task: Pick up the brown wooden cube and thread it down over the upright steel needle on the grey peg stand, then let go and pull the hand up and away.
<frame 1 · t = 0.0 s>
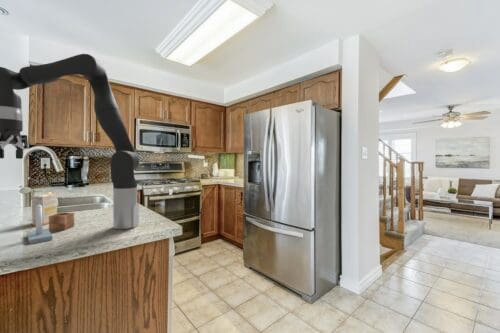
hand: (10, 158, 94), 29 cm above the counter, tool pointing down, fingers open, 8 cm apart
grey peg stand: (39, 238, 85), on the counter
brown wooden cube: (62, 228, 96), on the counter
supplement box: (44, 223, 104), on the counter
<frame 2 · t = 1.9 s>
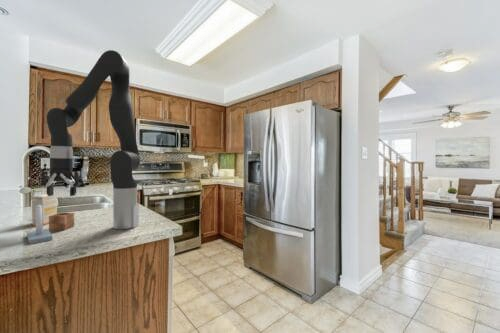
hand: (61, 195, 96), 14 cm above the counter, tool pointing down, fingers open, 8 cm apart
nothing on the counter moved.
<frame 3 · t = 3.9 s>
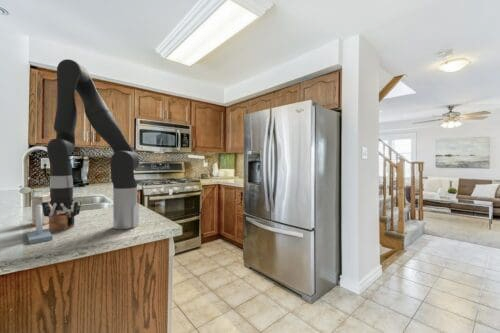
hand: (62, 225, 96), 1 cm above the counter, tool pointing down, fingers closed on brown wooden cube, 6 cm apart
brown wooden cube: (62, 228, 97), on the counter, touching gripper
everything else where it was.
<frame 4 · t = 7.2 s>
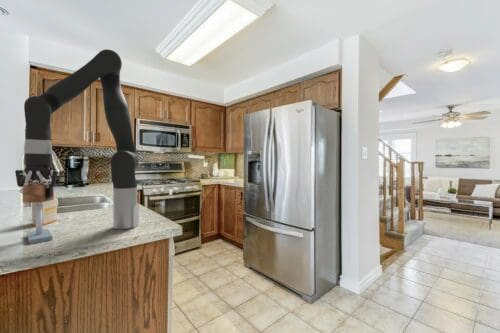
hand: (38, 198, 84), 15 cm above the counter, tool pointing down, fingers closed on brown wooden cube, 6 cm apart
brown wooden cube: (38, 201, 84), point 14 cm above the counter, touching gripper
everything else where it was.
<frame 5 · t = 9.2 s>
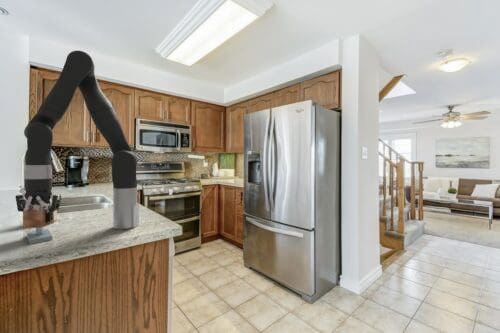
hand: (38, 222, 85), 6 cm above the counter, tool pointing down, fingers closed on brown wooden cube, 6 cm apart
brown wooden cube: (39, 225, 85), point 5 cm above the counter, touching gripper
everything else where it was.
when the fingers open (4 cm above the counter, at t = 10.7 s): brown wooden cube drops 1 cm, resting on grey peg stand.
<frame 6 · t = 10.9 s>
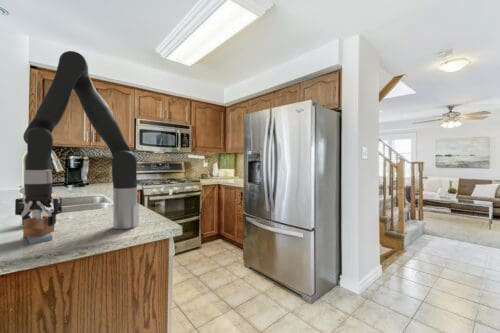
hand: (39, 225, 84), 5 cm above the counter, tool pointing down, fingers open, 8 cm apart
brown wooden cube: (39, 234, 85), point 1 cm above the counter, touching grey peg stand
everything else where it was.
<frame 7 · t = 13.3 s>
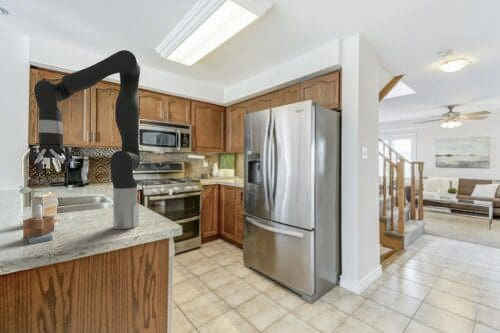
hand: (51, 172, 92), 24 cm above the counter, tool pointing down, fingers open, 8 cm apart
nothing on the counter moved.
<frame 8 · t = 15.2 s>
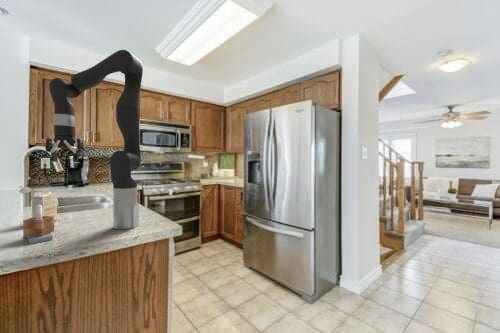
hand: (65, 161, 102), 28 cm above the counter, tool pointing down, fingers open, 8 cm apart
nothing on the counter moved.
at the end: brown wooden cube 0.1 cm from the grey peg stand (horizontally); brown wooden cube point 1.5 cm above the counter; the gripper is holding nothing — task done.
